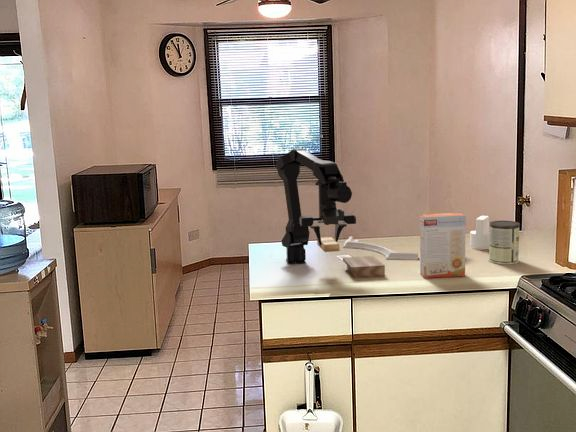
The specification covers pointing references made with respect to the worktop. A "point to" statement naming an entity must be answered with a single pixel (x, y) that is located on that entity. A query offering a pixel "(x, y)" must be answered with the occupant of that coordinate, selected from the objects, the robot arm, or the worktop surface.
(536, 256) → the worktop surface
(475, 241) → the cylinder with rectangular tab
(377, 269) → the laid planks
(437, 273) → the cracker box
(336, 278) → the worktop surface
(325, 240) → the oak plank
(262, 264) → the worktop surface
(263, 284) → the worktop surface
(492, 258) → the coffee can
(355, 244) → the molding
